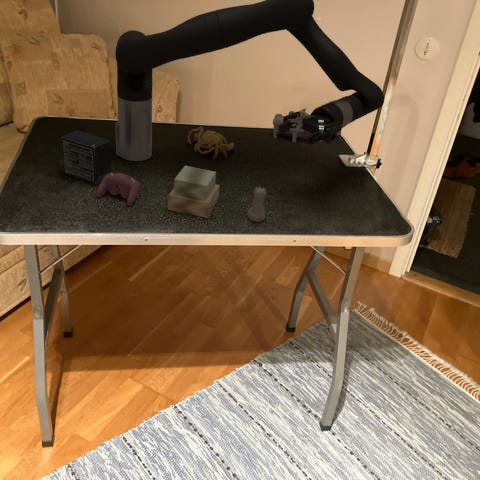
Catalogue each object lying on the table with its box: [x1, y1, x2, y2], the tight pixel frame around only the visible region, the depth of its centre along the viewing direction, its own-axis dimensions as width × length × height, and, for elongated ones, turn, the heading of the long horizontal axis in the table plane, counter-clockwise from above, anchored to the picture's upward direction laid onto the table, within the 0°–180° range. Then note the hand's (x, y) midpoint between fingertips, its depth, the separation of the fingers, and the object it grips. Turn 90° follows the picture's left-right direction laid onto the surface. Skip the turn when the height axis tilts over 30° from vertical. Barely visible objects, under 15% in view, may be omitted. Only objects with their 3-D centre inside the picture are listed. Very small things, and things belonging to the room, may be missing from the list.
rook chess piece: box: [247, 186, 267, 223], centre depth 119 cm, size 4×4×8 cm
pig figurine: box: [272, 107, 310, 143], centre depth 163 cm, size 5×13×11 cm, turn 75°
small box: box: [60, 130, 111, 186], centre depth 127 cm, size 11×6×10 cm, turn 65°
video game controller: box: [96, 172, 141, 207], centre depth 121 cm, size 10×5×7 cm, turn 71°
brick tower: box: [167, 165, 221, 219], centre depth 121 cm, size 10×10×8 cm
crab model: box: [186, 125, 235, 160], centre depth 151 cm, size 16×13×6 cm
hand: (294, 135), depth 118 cm, fingers open, 8 cm apart
